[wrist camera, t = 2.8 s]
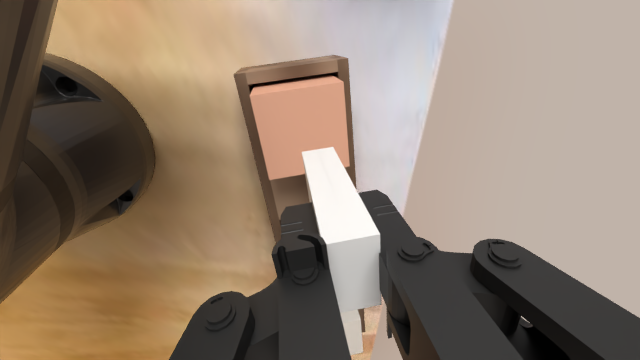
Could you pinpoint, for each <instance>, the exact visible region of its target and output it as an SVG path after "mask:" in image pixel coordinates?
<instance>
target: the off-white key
mask: <svg viewBox="0 0 640 360" xmlns="http://www.w3.org/2000/svg"><path fill="white" fill-rule="evenodd" d="M340 314H341V318H342V322H343V327H344V331H345V335H346V339H347V343H348V348H349V352H350V355H354V354H358V353H363V344H362V330H361V319H360V315H359V312H358V310H353V311H348V312H343V313H340Z"/></svg>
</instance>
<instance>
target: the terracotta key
mask: <svg viewBox="0 0 640 360" xmlns="http://www.w3.org/2000/svg"><path fill="white" fill-rule="evenodd" d="M250 99H251V104H252V108H253V112H254V116H255V121H256V125H257V129H258V134H259V138H260V142H261V146H262V151H263V155H264V159H265V164H266V168H267V172H268V176H269V180H273V179H279V178H284V177H290V176H296V175H302V174H305V170H304V163H303V157H302V152H304V151H311V150H317V149H323V148H329V147H333V148H334V149H335V151H336V153H337V155H338V157H339V159H340V161H341V162H342V164H343V166H344V167H348V166H350V163H349V149H348V135H347V122H346V108H345V94H344V82H343V81H341V80H340V79H338V78H336V77H335V76H333V75H331V74H324V75H317V76H310V77H303V78H296V79H289V80H282V81H275V82H268V83H261V84H255V85H254V88H253V90H252V92H251V94H250Z"/></svg>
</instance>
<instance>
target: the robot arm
mask: <svg viewBox="0 0 640 360" xmlns="http://www.w3.org/2000/svg"><path fill="white" fill-rule="evenodd" d="M57 2H58V0H0V304H1V303H2V302H3V301H4V300H5V299H6V298H7V297H8V296H9V295H10V294H11V293H12V292H13V291H14V290H15V289H16V288H17V287H18V286H19V285H20V284H21V283H22V282H23V281H24V280H26V279H27V278H28V277H29V276H30V275H31V274H32V273H33V272H34V271H35V270H36V269H37V268H38V267H39V266H40V265H41V264H42V263H43V262H44V261H45V260H46V259H47V258H48V257H49V256H50V255H51V254H52V253H53V252H54V251H55V250H56V249H58V248H59V247H60V246H61V245H62V244H63V243H64V242H66V241H69V240H71V239H73V238H75V237H77V236H79V235H82V234H84V233H86V232H88V231H90V230H92V229H94V228H97V227H99V226H101V225H103V224H105V223H107V222H110V221H112V220H114V219H115V218H117V217H119V216H120V215H122V214H123V213H124V212H126V211H127V210H128V209H129V208H130V207H132V206H133V204H134V203H135V202H136V201H137V200H138V199H139V198H140V196H141V195H142V194H143V193H144V192H145V190H146V189H147V187H148V185H149V183H150V181H151V179H152V176H153V172H154V165H155V155H154V148H153V144H152V140H151V137H150V134H149V132H148V130H147V128H146V126H145V124H144V122H143V120H142V119H141V117H140V115H139V114H138V113H137V111H136V110H135V108H134V107H133V106H132V105H131V104H130V102H129V101H128V100H127V99H126V98H125V97H124V96H123V95H122V94H121V93H120V92H119V91H118V90H117V89H115V88H114V87H113V86H112V85H111V84H109V83H108V82H107V81H105V80H104V79H103V78H101V77H100V76H98V75H97V74H95V73H93V72H91V71H90V70H88V69H86V68H84V67H82V66H80V65H78V64H76V63H74V62H72V61H69V60H66V59H64V58H61V57H58V56H55V55H51V54H47V53H45V52H46V48H47V44H48V39H49V35H50V31H51V27H52V23H53V19H54V15H55V11H56V7H57ZM302 157H303V163H304V170H305V176H306V182H307V188H308V195H309V201H310V203H305V204H299V205H294V206H288V207H285V209H284V211H283V212H282V214H281V240H279V241H278V243H277V244H276V245H275V246H274V248H273V251H272V258H273V262H274V265H275V269H276V273H277V278H276V279H275V281H274V282H273V283H272V284H270V285H269V286H268V287H267V288H265V289H263V290H262V291H260V292H258V293H256V294H254V295H252V296H249V297H245V296H244V295H243V294H241V293H239V292H233V291H230V292H223V293H220V294H218V295H215V296H213V297H211V298H210V299H208V300H207V301H206V302H205V303H203V304H202V305H201V306H200V307H199V308H198V310H197V311H196V312H195V314H194V315H193V317H192V319H191V320H190V322H189V324H188V326H187V328H186V330H185V331H184V333H183V335H182V337H181V339H180V340H179V342H178V344H177V346H176V348H175V349H174V351H173V353H172V355H171V357H170V359H169V360H351V356H350V352H349V348H348V343H347V339H346V335H345V331H344V327H343V322H342V318H341V314H340V313H343V312H348V311H353V310H358V309H362V308H367V307H372V306H377V305H381V294H382V296H383V299H384V301H385V303H386V306H387V335H388V338H391V337H392V333H393V336H394V338H395V341H396V343H397V346H398V348H399V351H400V353H401V356H402V358H403V360H640V318H639V317H637V316H635V315H634V314H632V313H630V312H629V311H627V310H625V309H624V308H622V307H620V306H619V305H617V304H615V303H613V302H612V301H611V300H609V299H607V298H606V297H604V296H602V295H601V294H599V293H597V292H596V291H594V290H592V289H591V288H589V287H587V286H586V285H584V284H582V283H581V282H579V281H578V280H576V279H574V278H572V277H571V276H569V275H568V274H566V273H564V272H563V271H561V270H559V269H558V268H556V267H555V266H553V265H551V264H550V263H548V262H546V261H545V260H543V259H541V258H540V257H538V256H536V255H535V254H533V253H531V252H530V251H528V250H526V249H525V248H523V247H521V246H519V245H517V244H515V243H513V242H509V241H505V240H500V239H487V240H483V241H480V242H478V243H477V244H476V245H475V246H474V249H473V254H472V253H453V252H444V251H439V250H438V249H437V247H435V246H434V245H433V244H432V243H431V242H429V241H427V240H425V239H423V238H420V237H416V235H415V234H414V233H413V231H412V230H411V228H410V227H409V226H408V224H407V223H406V221H405V220H404V219H403V217H402V216H401V214H400V213H399V212H398V211H397V209H396V207H395V206H394V205H393V203H392V202H391V201H390V199H389V198H388V196H387V195H385V194H383V193H382V192H380V191H378V190H373V191H367V192H362V193H358V192H357V190H356V188H355V187H354V185H353V183H352V181H351V179H350V177H349V175H348V174H347V172H346V170H345V168H344V166H343V164H342V162H341V161H340V159H339V157H338V155H337V153H336V151H335V149H334V148H333V147H329V148H323V149H317V150H311V151H304V152H302ZM521 316H522V317H524V318H525V319H526V320H527V321H529V322H530V323H529V322H527V321H525V320H524V319H522V318H521Z"/></svg>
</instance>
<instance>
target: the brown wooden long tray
mask: <svg viewBox="0 0 640 360" xmlns="http://www.w3.org/2000/svg"><path fill="white" fill-rule="evenodd" d="M325 73H327V74H331V75H333V76H335V77H336V78H338V79H340V80H341V81H343V82H344V94H345V108H346V122H347V135H348V149H349V163H350V166H348V167H344V168H345V170H346V172H347V174H348V175H349V177H350V179H351V181H352V183H353V185H354V187H355V188H356V177H355V161H354V145H353V129H352V113H351V97H350V81H349V65H348V58H345V57H341V56H336V55H332V56H325V57H317V58H310V59H303V60H296V61H289V62H281V63H274V64H267V65H260V66H253V67H245V68H241V69H240V70H238V71H237V72H236V73H235V74H234V78H235V82H236V86H237V90H238V94H239V98H240V101H241V105H242V109H243V113H244V117H245V121H246V125H247V129H248V133H249V137H250V141H251V145H252V149H253V153H254V157H255V161H256V165H257V169H258V173H259V177H260V181H261V185H262V189H263V193H264V197H265V201H266V205H267V209H268V213H269V217H270V221H271V225H272V229H273V233H274V237H275V241H276V244H277V243H278V241H279V240H281V214H282V212H283V211H284V209H285V207H288V206H294V205H299V204H305V203H310V201H309V195H308V188H307V182H306V176H305V174H302V175H296V176H290V177H284V178H279V179H273V180H269V176H268V172H267V168H266V164H265V159H264V155H263V151H262V146H261V142H260V138H259V134H258V129H257V125H256V121H255V116H254V112H253V108H252V104H251V99H250V94H251V92H252V90H253V88H254V85H255V84H256V83H263V82H270V81H277V80H284V79H291V78H298V77H304V76H311V75H318V74H325ZM358 312H359V315H360V319H361V330H362V332H365V322H364V308H362V309H358Z"/></svg>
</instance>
